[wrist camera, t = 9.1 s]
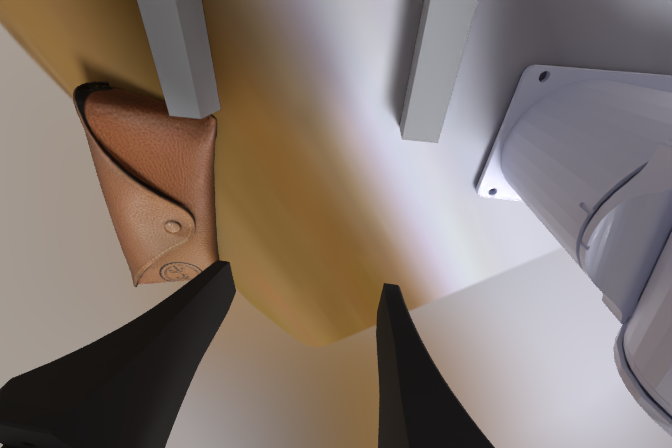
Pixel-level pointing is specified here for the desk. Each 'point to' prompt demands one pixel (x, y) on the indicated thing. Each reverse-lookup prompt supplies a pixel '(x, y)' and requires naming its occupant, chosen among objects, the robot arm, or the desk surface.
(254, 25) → the desk surface
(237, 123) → the desk surface
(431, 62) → the bay
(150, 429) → the robot arm
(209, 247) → the sunglasses case
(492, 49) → the desk surface
